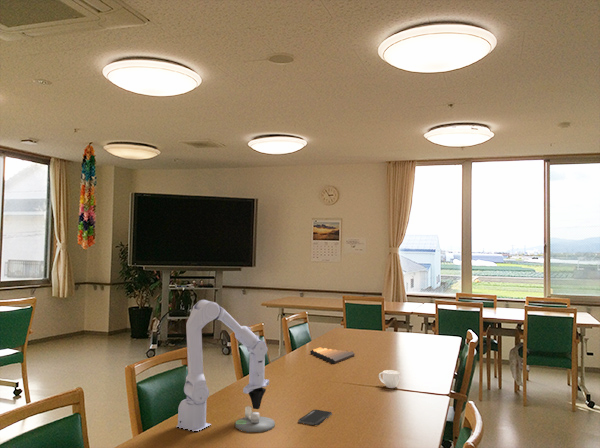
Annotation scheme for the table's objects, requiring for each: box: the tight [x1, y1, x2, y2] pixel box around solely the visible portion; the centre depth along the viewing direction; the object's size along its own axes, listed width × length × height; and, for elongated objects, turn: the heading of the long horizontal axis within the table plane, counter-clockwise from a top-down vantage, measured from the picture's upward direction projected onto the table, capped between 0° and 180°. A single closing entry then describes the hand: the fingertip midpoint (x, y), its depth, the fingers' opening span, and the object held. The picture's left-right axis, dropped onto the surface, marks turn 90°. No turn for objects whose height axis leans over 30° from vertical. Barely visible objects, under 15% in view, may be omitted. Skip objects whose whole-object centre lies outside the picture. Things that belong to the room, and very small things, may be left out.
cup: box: [378, 369, 401, 389], centre depth 233 cm, size 8×10×7 cm
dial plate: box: [234, 415, 276, 433], centre depth 178 cm, size 14×14×1 cm
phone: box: [298, 409, 333, 426], centre depth 187 cm, size 8×1×15 cm
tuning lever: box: [244, 405, 260, 423], centre depth 181 cm, size 8×3×4 cm, turn 31°
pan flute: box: [310, 347, 356, 365], centre depth 294 cm, size 25×3×25 cm
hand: (256, 408), depth 188 cm, fingers closed
